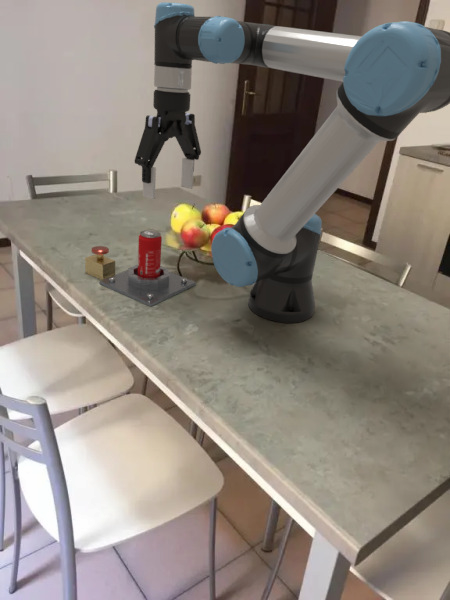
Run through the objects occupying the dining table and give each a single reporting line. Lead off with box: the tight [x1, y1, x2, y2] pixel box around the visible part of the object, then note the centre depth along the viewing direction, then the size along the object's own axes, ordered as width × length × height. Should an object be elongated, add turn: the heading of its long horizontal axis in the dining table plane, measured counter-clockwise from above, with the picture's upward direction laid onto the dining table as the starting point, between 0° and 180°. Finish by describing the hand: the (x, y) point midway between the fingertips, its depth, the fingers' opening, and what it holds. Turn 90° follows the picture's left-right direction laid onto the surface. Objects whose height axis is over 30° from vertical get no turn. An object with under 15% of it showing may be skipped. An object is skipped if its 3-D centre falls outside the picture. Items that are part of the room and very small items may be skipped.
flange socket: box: [99, 264, 196, 308], centre depth 123 cm, size 16×16×3 cm
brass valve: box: [84, 245, 116, 280], centre depth 125 cm, size 6×4×7 cm, turn 55°
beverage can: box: [137, 229, 163, 278], centre depth 120 cm, size 5×5×12 cm
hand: (168, 192), depth 115 cm, fingers open, 13 cm apart
